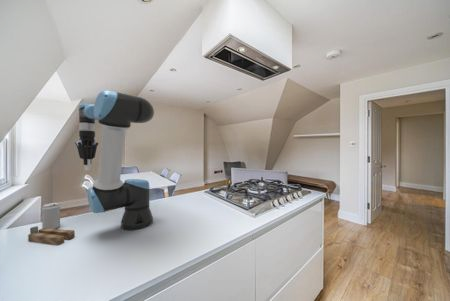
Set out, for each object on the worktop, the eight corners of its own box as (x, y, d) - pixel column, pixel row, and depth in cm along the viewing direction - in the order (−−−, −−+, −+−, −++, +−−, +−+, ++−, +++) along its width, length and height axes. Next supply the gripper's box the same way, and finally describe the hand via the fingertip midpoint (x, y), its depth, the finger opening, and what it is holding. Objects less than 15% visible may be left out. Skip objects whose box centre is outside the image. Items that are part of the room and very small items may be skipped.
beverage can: (49, 232, 85) (48, 206, 85) (38, 230, 86) (38, 205, 86) (63, 226, 91) (63, 202, 91) (53, 225, 93) (53, 201, 92)
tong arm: (74, 236, 80) (74, 230, 80) (69, 239, 78) (69, 232, 78) (44, 234, 82) (44, 228, 82) (38, 236, 80) (38, 230, 80)
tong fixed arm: (69, 240, 78) (69, 230, 78) (58, 245, 74) (58, 234, 73) (35, 235, 81) (35, 226, 81) (23, 240, 77) (23, 230, 77)
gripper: (92, 131, 114) (92, 168, 115) (70, 129, 102) (71, 171, 102) (102, 131, 113) (102, 169, 113) (81, 129, 100) (82, 171, 100)
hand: (87, 170), depth 108 cm, fingers closed
